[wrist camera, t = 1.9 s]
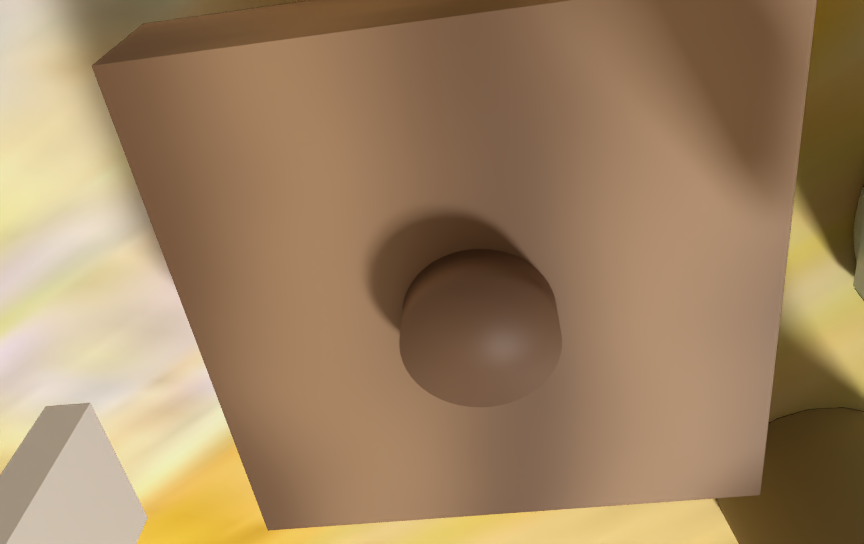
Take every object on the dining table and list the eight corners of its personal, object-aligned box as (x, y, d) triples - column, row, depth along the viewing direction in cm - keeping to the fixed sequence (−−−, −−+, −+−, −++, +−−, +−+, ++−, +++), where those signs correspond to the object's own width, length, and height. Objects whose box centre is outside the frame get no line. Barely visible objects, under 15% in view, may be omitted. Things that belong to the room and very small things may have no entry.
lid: (287, 454, 21) (259, 565, 18) (143, 23, 15) (66, 86, 12) (728, 418, 20) (775, 531, 17) (766, -65, 14) (848, -19, 11)
